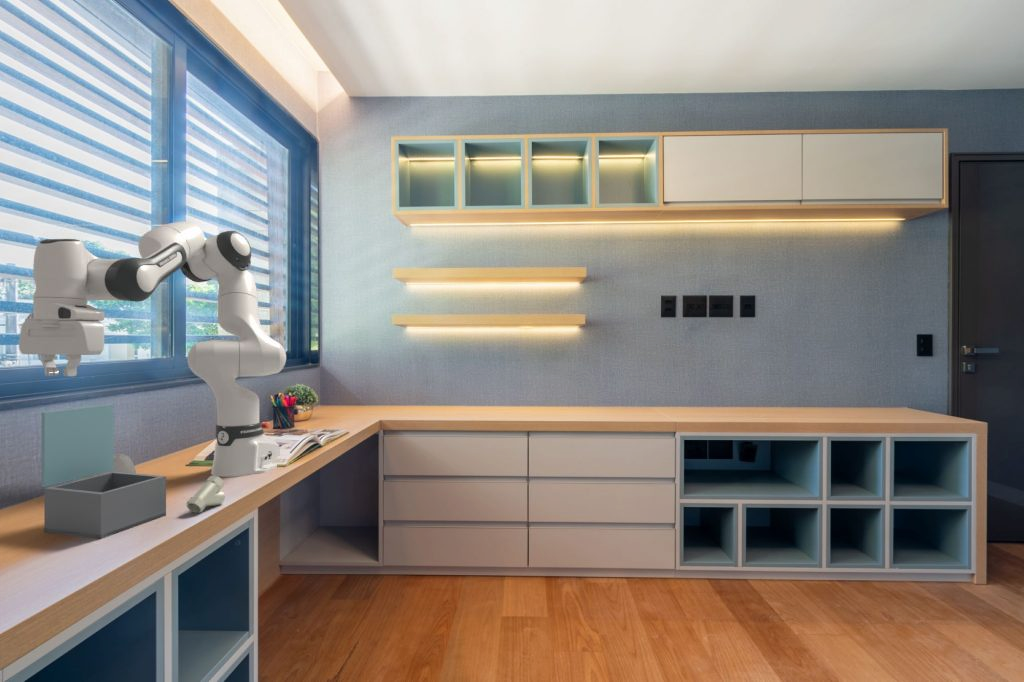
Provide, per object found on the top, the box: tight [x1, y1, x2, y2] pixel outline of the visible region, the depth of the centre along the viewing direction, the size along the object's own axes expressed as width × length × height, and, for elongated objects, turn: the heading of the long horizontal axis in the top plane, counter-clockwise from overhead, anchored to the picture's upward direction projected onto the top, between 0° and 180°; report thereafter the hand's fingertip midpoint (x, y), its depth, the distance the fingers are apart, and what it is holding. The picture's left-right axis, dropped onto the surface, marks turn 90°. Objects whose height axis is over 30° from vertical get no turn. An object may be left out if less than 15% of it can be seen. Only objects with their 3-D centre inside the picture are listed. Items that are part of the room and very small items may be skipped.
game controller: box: [74, 453, 137, 481], centre depth 133 cm, size 14×4×10 cm, turn 93°
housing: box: [43, 472, 167, 540], centre depth 110 cm, size 14×15×9 cm
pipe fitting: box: [186, 475, 226, 514], centre depth 119 cm, size 8×4×7 cm
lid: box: [41, 403, 115, 488], centre depth 112 cm, size 14×15×1 cm
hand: (60, 375), depth 113 cm, fingers open, 4 cm apart
